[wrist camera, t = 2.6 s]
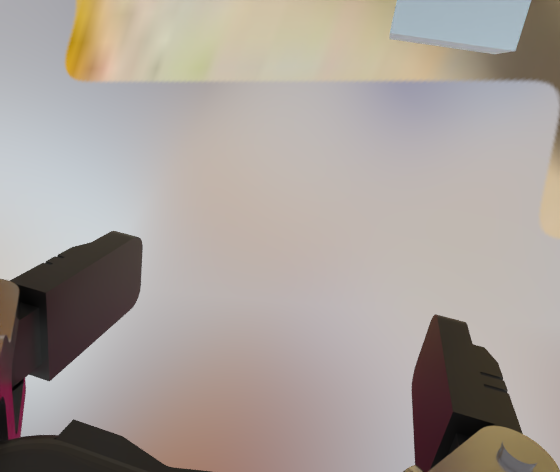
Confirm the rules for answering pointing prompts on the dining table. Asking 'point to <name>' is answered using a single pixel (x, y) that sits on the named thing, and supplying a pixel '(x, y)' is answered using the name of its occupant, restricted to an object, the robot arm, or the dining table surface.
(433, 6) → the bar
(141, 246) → the robot arm
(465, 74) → the dining table surface
